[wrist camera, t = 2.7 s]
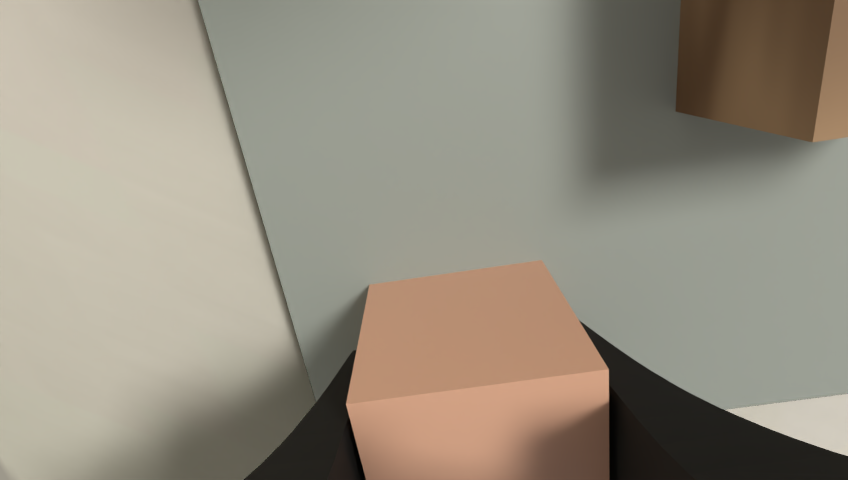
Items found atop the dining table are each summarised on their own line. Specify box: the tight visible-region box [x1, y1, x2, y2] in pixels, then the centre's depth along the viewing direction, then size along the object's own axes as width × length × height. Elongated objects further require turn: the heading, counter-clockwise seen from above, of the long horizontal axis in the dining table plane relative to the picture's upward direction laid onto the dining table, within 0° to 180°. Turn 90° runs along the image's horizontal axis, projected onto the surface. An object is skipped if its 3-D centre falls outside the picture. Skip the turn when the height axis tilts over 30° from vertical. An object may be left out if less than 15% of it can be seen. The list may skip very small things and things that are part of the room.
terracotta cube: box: [346, 260, 609, 480], centre depth 11 cm, size 4×4×4 cm
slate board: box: [198, 0, 848, 410], centre depth 12 cm, size 15×17×1 cm
